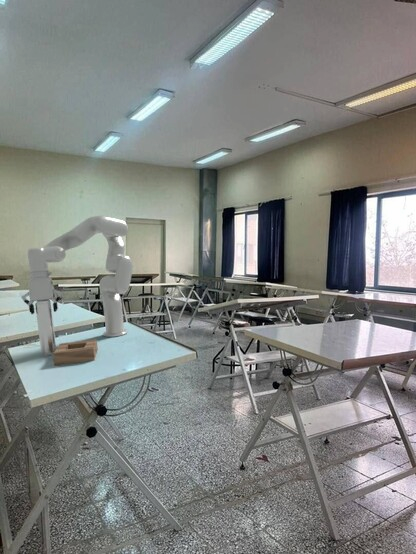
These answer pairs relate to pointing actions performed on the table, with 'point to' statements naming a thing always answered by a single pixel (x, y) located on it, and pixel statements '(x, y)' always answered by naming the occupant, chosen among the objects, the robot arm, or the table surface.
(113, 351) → the table surface
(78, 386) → the table surface
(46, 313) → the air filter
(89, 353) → the socket block
